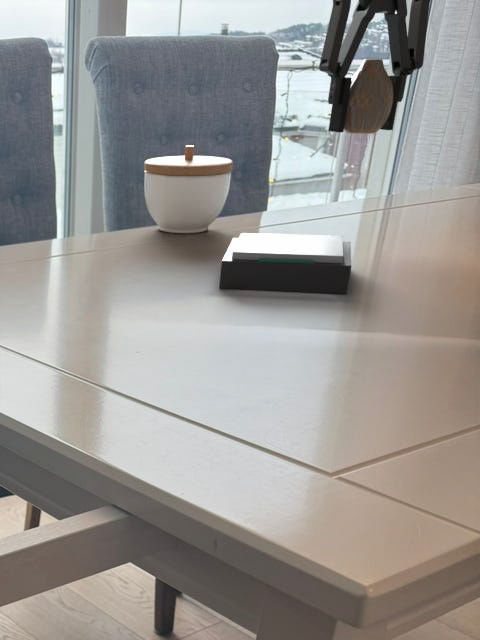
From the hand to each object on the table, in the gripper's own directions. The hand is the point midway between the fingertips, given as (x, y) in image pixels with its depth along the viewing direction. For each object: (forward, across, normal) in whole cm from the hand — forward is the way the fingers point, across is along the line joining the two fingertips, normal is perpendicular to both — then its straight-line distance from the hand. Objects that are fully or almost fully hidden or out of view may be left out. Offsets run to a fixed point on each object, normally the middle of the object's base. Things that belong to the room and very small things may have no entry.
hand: (360, 130), depth 131 cm
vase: (+1, 0, 0) cm, 1 cm away
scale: (+13, +24, +27) cm, 39 cm away
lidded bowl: (+13, +23, -7) cm, 27 cm away
